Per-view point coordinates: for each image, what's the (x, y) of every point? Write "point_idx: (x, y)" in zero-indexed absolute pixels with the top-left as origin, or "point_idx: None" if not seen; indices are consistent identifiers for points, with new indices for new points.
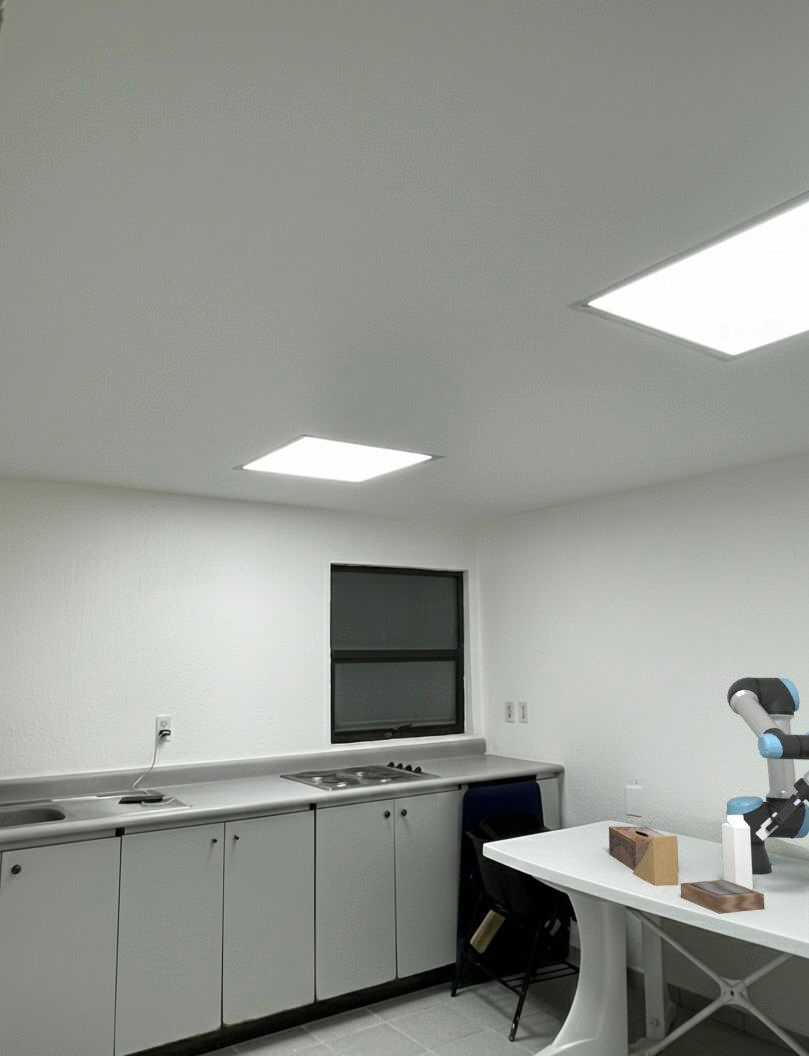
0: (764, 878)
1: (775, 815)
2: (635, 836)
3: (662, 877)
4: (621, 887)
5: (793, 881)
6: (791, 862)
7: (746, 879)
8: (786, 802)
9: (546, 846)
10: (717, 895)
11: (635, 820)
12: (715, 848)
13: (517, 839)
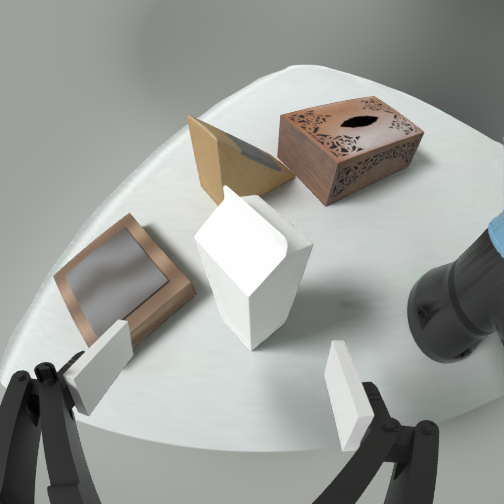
0: (391, 362)
1: (350, 415)
2: (329, 114)
3: (206, 185)
4: (171, 156)
5: (400, 420)
6: None
7: (238, 332)
8: (49, 495)
9: (344, 88)
10: (66, 274)
11: None
12: None
13: (351, 75)
